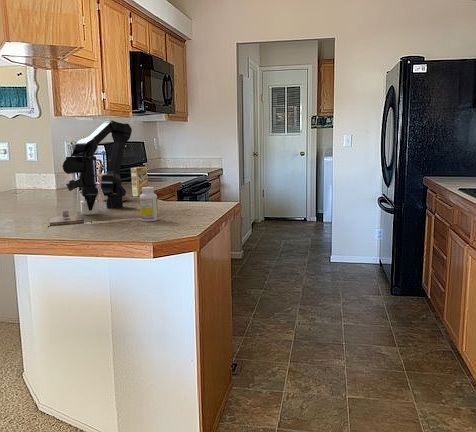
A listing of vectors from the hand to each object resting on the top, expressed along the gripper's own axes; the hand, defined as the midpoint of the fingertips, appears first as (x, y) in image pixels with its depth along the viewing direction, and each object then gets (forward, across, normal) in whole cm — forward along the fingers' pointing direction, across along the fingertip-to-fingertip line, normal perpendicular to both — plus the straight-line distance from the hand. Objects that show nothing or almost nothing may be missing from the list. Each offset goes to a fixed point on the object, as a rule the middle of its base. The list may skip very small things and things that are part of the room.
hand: (89, 209), depth 200 cm
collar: (+2, 0, 0) cm, 2 cm away
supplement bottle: (+3, +24, +20) cm, 31 cm away
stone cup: (+3, -40, +15) cm, 43 cm away
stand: (+2, 0, 0) cm, 2 cm away
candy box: (+3, -56, +32) cm, 65 cm away
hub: (+2, +13, -10) cm, 17 cm away
